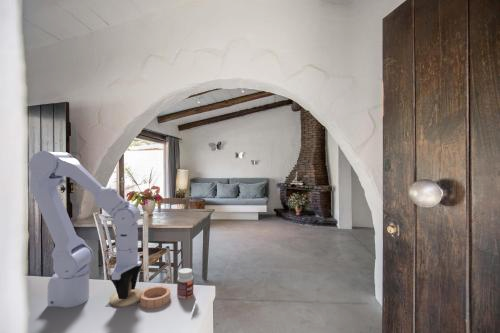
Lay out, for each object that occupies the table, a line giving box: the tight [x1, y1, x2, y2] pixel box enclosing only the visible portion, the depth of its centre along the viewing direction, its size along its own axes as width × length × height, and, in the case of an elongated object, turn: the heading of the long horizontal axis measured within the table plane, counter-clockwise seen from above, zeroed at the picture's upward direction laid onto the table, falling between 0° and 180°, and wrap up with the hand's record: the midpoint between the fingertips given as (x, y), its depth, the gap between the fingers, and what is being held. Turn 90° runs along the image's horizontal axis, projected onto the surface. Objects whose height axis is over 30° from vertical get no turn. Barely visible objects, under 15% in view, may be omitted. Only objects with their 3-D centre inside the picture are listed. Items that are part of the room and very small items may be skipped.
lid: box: [109, 281, 143, 308], centre depth 78 cm, size 9×9×5 cm
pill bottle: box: [176, 267, 195, 300], centre depth 80 cm, size 5×5×8 cm
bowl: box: [139, 285, 171, 309], centre depth 77 cm, size 8×8×3 cm
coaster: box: [105, 301, 140, 307], centre depth 78 cm, size 8×8×1 cm
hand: (127, 293), depth 78 cm, fingers open, 5 cm apart
